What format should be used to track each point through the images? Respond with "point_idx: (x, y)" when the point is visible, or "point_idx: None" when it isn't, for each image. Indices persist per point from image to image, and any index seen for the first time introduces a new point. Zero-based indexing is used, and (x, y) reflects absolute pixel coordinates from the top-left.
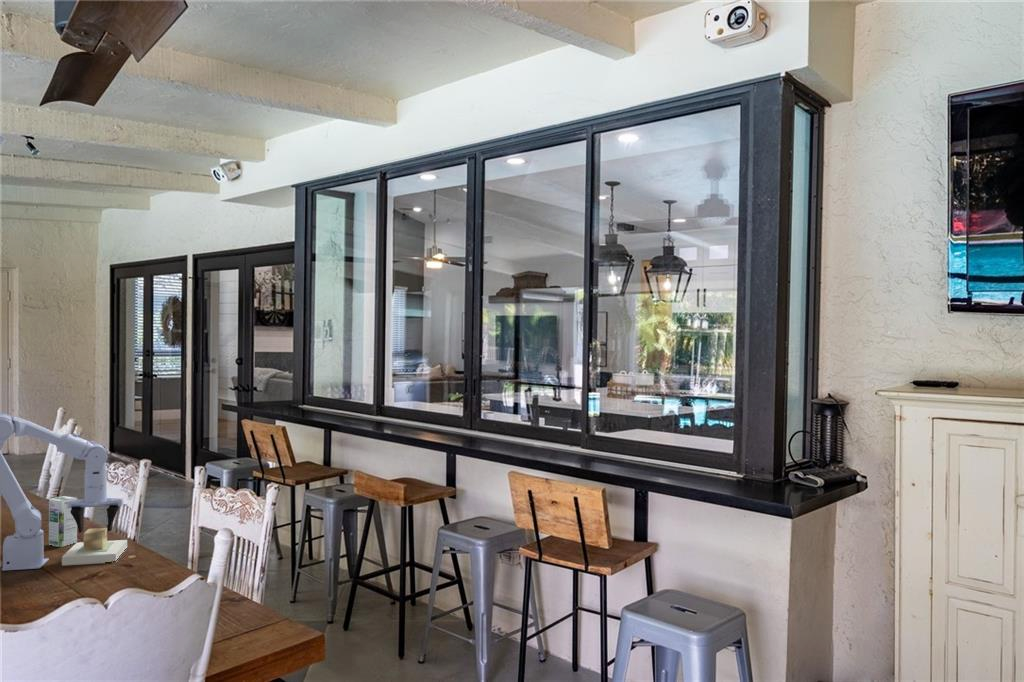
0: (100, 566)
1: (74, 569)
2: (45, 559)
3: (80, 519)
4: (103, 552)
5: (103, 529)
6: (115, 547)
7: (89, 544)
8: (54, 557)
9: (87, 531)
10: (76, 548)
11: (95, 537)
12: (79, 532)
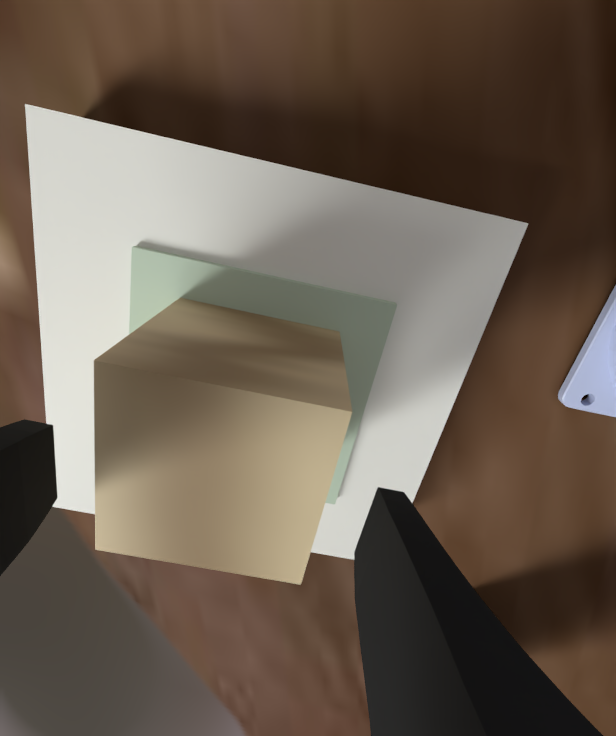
0: (189, 36)
1: (406, 37)
2: (587, 383)
3: (439, 691)
4: (161, 215)
5: (119, 499)
6: (87, 340)
7: (287, 339)
8: (511, 443)
9: (305, 484)
10: (392, 434)
11: (210, 352)
12: (400, 491)
